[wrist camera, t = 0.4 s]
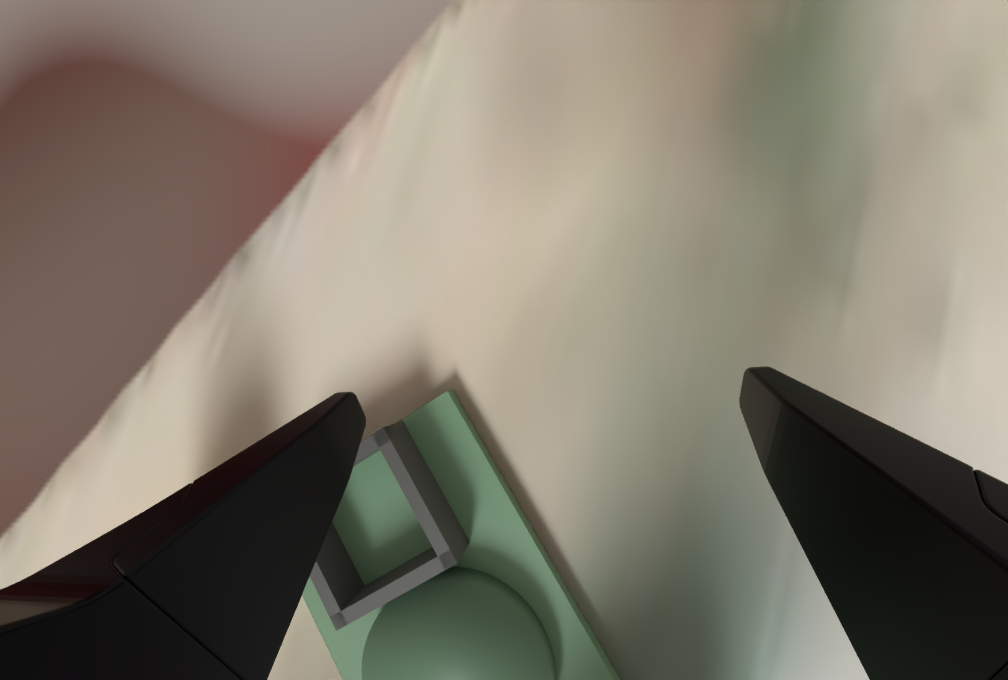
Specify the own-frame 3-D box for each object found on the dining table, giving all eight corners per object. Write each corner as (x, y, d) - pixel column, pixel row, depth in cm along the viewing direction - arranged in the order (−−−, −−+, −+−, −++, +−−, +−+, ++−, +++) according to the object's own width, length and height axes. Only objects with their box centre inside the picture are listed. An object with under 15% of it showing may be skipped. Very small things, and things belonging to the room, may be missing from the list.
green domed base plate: (628, 694, 22) (638, 755, 19) (414, 795, 24) (388, 867, 21) (452, 389, 25) (432, 394, 22) (271, 503, 27) (227, 524, 24)
